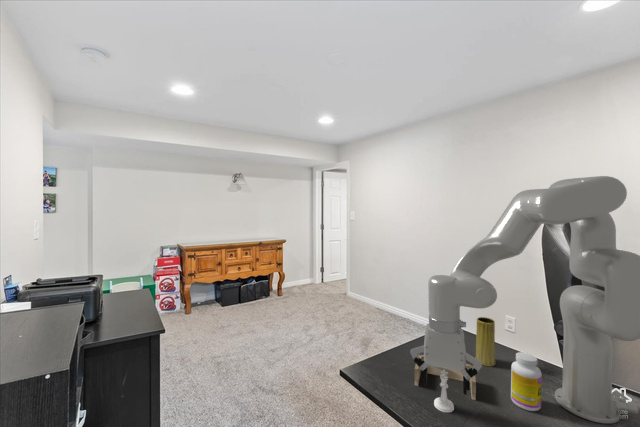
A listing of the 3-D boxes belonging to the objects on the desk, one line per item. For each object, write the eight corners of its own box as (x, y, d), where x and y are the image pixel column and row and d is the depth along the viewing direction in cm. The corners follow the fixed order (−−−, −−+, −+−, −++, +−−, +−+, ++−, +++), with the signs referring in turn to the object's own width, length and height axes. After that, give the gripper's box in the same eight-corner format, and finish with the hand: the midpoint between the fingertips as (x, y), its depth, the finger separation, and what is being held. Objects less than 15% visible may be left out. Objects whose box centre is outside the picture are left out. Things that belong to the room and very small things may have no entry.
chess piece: (456, 413, 75) (456, 375, 75) (435, 411, 76) (436, 373, 76) (451, 400, 80) (451, 364, 80) (432, 398, 81) (432, 363, 80)
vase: (495, 360, 100) (496, 318, 100) (495, 368, 95) (496, 325, 94) (475, 355, 103) (476, 315, 103) (474, 363, 98) (474, 321, 98)
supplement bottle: (542, 416, 74) (543, 366, 74) (511, 406, 78) (511, 358, 77) (539, 400, 80) (540, 354, 79) (510, 392, 83) (511, 347, 83)
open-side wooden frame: (473, 381, 88) (474, 365, 88) (475, 400, 80) (475, 382, 80) (418, 369, 95) (418, 354, 95) (414, 385, 87) (414, 368, 87)
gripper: (480, 323, 77) (480, 386, 78) (411, 313, 84) (412, 372, 85) (482, 335, 70) (483, 405, 71) (407, 324, 77) (408, 387, 78)
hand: (444, 387), depth 78 cm, fingers open, 9 cm apart
